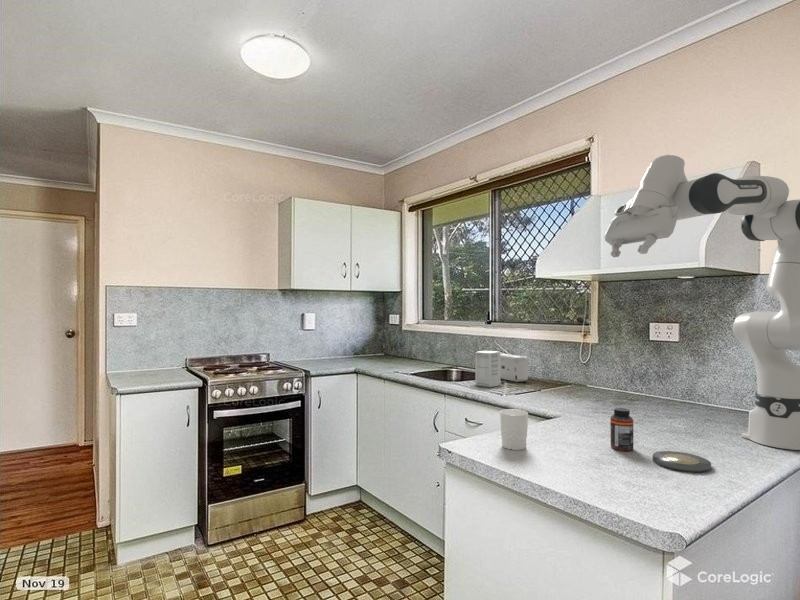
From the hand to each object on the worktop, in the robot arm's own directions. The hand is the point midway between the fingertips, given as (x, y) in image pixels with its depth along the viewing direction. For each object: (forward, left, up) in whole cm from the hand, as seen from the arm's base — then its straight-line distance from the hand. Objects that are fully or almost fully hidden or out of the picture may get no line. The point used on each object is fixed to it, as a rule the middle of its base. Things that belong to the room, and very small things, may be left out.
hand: (627, 254), depth 123 cm
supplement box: (-70, -89, -55) cm, 126 cm away
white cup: (+9, -28, -55) cm, 62 cm away
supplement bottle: (-11, -5, -55) cm, 56 cm away
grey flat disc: (-9, +10, -54) cm, 56 cm away
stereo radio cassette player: (-93, -91, -55) cm, 141 cm away
